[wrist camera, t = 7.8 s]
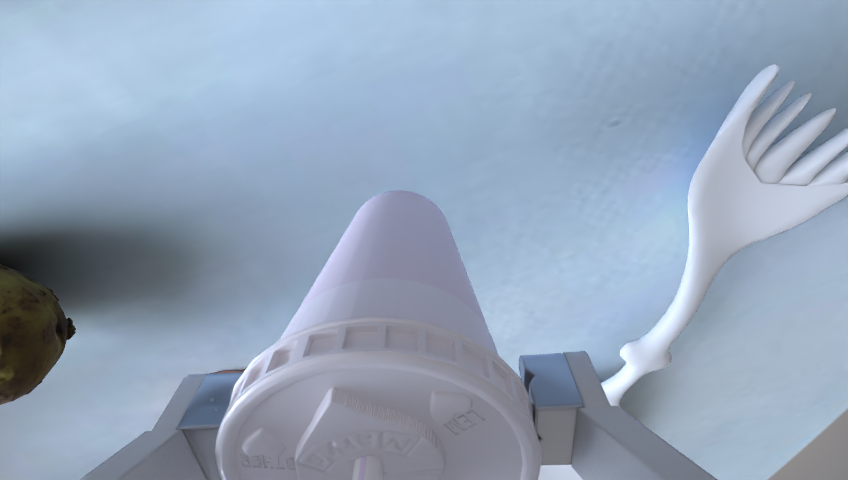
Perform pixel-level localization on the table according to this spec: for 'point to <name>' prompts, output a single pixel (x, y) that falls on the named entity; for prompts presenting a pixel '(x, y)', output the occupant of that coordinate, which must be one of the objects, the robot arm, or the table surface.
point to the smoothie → (383, 369)
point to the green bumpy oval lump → (28, 333)
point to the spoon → (738, 211)
